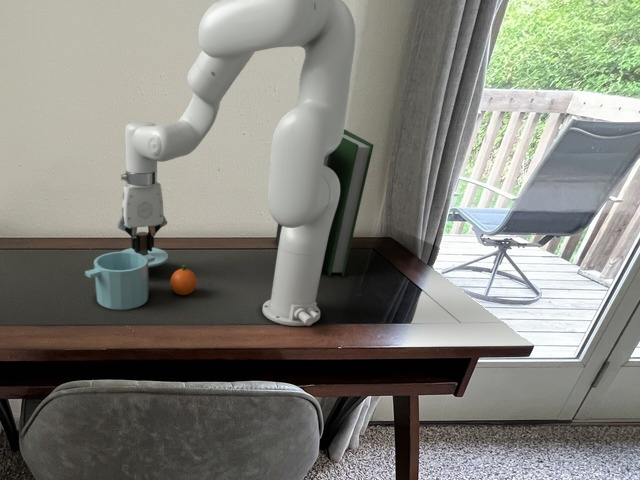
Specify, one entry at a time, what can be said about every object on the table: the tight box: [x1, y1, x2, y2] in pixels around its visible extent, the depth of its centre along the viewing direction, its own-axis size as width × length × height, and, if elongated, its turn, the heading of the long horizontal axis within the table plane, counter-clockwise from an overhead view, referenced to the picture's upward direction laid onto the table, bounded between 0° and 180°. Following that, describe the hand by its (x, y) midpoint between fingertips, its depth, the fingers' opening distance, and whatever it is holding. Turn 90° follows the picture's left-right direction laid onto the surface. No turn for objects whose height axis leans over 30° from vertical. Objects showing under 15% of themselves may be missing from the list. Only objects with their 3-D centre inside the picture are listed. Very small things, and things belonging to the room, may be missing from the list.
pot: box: [84, 251, 155, 311], centre depth 114 cm, size 13×18×10 cm
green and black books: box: [275, 128, 374, 277], centre depth 128 cm, size 27×15×32 cm, turn 176°
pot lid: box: [120, 231, 169, 268], centre depth 126 cm, size 14×14×7 cm
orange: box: [169, 264, 198, 296], centre depth 115 cm, size 6×6×8 cm
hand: (142, 249), depth 126 cm, fingers closed on pot lid, 3 cm apart
